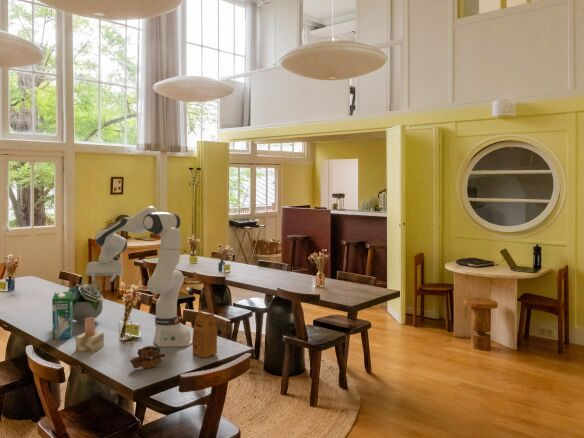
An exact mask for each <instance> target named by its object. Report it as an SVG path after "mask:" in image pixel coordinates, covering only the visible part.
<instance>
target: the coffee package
mask: <svg viewBox="0 0 584 438" xmlns="http://www.w3.org/2000/svg"><path fill="white" fill-rule="evenodd" d="M214 317H215V315H214V314H213V313H203V312H202V311H201V310H198V311H197V314H196V317H195V321H194V324H193V328H192V329H193V331H192V337H193V338H192V344H191V345H192V355H196V356H198V357H199V358H204V359H206V358H209V357H211V356H213V355H216V354H217V353H218V350H217V348H218V326H217V323H216V321H215V320H214Z"/></svg>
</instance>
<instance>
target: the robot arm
mask: <svg viewBox="0 0 584 438" xmlns="http://www.w3.org/2000/svg"><path fill="white" fill-rule="evenodd" d="M180 226H181V218H180V216H179V215H178V214H177V213H174V212H163V211H159V210H158V208H156V207H154V206H152V205H151V206H146V207H144V208H142V209H141V210H140V211H138V212H137V213H136V214H134V215H132V216H127V217H122V218H120V219H118V220H117V221H114V222H113V223H111V224H110V225H108V226H105V227H103V228H101V229H99V230H98V231H97V232H96V234H95V236H94V240H95V243H96V245H97V246H100V247H101V248H100V254H99V257H98V260H95V261H93V260H92V261H89V262H88V263H87V264H86V269H85V274H86V276H88V277H91V278H92V280H91V281H92V282H94V283H95V282H96V281H97V276H98V277H103V276H104V277H105V276H106V277H109V276H110V277H109V282H113V281H114V279H115V278H116V276H119V277H120V276H122V275H123V274H124V268H123V267H124V266H123V260H122V259H121V257H118V255H121V254H122V253H124V252H125V251H126V250H127V248H128V241H127V238H125V237H123V236H121V235H119V234H117V233H118V232H122V231H123V232H128V233H131V234H132V233H133V234H135V235H141V234H144V233H146V232H149V233H152V234H153V235H155V236H158V235H159V236H160V244H159V245H160V246H159V252H158V260H157V263H156V265H155V269H154V270H153V272H152V275H151V276H150V277H149V279H148V280H147V289H148V290H149V292H150V293H151V294H153V295H159V297H158V299H157V300H156V303H155V316H154V323H155V324H154V325H155V330H154V331H155V332H154V338H153V341H152V342H153V344H155V345H156V346H157V347H159V348H160V347H161V348H162V347H167V348H168V347H170V348H171V347H188V346H191V345H193V344H192V338H193V336H192V335H191V331H190V328H188V327H187V326H186V325H184V324H182V323H181V320H182V316H178V315H177V314H178V313H177V311H178V306H177V305H178V298H179V293H180V290H181V287H182V286H183V284H184V281H185V278H184V274H183V272H182V271H180V270H178V269H176V267H177V266H178V265H179V263H180V257H181V248H182V232H181V230H180V229H179V228H180Z"/></svg>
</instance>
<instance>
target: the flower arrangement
mask: <svg viewBox="0 0 584 438" xmlns="http://www.w3.org/2000/svg"><path fill="white" fill-rule="evenodd" d="M102 290H103V289H101V288H100V286H98V285H97V284H91V283H90V284H87V283H84V284H79V285H75V286H74V285H73V286H72V287H69V289H68V290H67V291H66V292H71V291H72V305H73V321H75V322H76V323H77V324H79V325H85V318H87V317H94V318H95V319H96V318H98V317H99V316H100V315H101V313H102V311H103V308H104V307H103V304H104V303H103V302H104V300H105V298H104V296H103V295H102V293H103V291H102Z"/></svg>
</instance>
